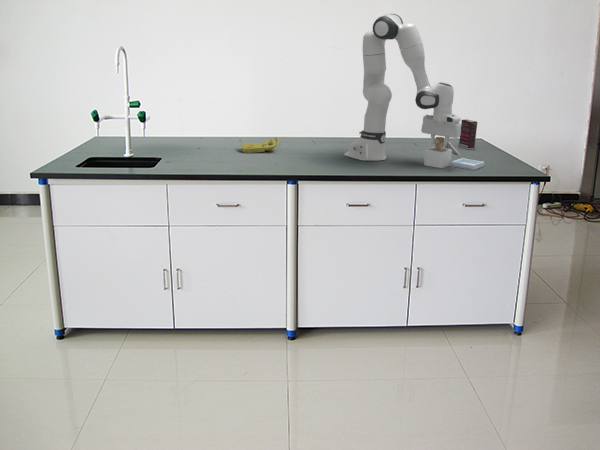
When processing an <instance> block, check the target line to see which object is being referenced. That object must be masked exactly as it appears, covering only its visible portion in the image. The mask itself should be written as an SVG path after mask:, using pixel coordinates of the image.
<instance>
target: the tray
mask: <svg viewBox="0 0 600 450" xmlns="http://www.w3.org/2000/svg"><path fill="white" fill-rule="evenodd" d="M450 167H454V168H459V169H462V170H468V171H475V170H479V169H482V168H483V167H485V161H482V160H481V161H480V160H475V159H471V158H470V159H469V158H464V157H461V158H459V159H455V160H451V164H450Z"/></svg>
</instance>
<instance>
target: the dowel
mask: <svg viewBox="0 0 600 450" xmlns="http://www.w3.org/2000/svg"><path fill="white" fill-rule="evenodd" d="M435 140H436V142H435V144H434V147H435V151H439V152H443V148H444V145H442V144H443V143H442V142H444V141H445V137H444V136H437V137H436V136H435Z"/></svg>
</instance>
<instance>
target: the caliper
mask: <svg viewBox="0 0 600 450" xmlns="http://www.w3.org/2000/svg"><path fill="white" fill-rule="evenodd" d="M449 140H450V139H449ZM449 140H448V141H447V145H446V146H444V148H445V149H451V150H452V152H453V153H454V154H455V155H456V156H458V157H462V155H461V153H460V151H458V149H456V148H455V147H454V146H453V144H452V143H451V141H449Z"/></svg>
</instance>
